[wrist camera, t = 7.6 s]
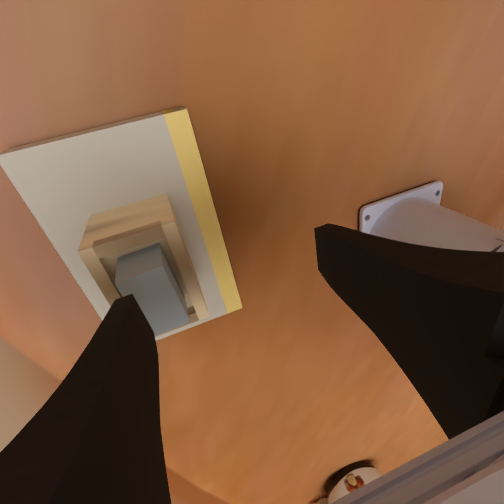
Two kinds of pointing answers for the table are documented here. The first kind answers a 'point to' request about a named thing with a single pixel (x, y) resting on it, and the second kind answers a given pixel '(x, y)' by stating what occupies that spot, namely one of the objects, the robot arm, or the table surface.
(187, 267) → the tan hollow block
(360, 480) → the spread jar
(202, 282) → the dock
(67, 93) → the table surface
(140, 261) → the grey square prism
